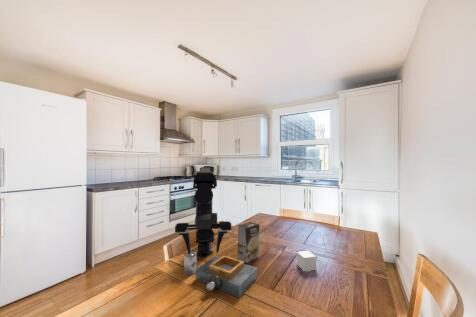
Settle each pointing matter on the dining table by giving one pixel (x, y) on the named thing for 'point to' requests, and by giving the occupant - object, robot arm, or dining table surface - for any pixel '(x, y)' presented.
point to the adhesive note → (306, 260)
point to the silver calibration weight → (190, 263)
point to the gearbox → (227, 275)
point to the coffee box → (248, 242)
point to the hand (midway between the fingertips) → (203, 253)
